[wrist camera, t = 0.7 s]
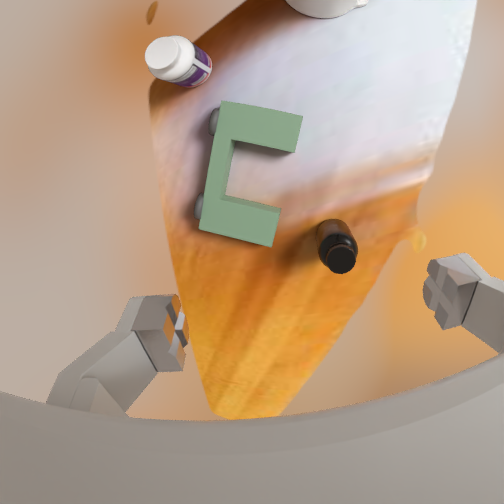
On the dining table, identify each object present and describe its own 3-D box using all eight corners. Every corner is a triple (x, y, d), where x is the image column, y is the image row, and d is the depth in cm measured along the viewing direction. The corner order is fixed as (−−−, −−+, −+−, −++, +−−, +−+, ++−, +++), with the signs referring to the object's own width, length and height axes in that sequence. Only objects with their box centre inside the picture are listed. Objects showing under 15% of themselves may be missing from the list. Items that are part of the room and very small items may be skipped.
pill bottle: (180, 48, 45) (145, 28, 32) (218, 53, 45) (192, 30, 32) (169, 85, 49) (131, 74, 36) (207, 91, 48) (177, 79, 35)
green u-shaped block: (221, 102, 49) (213, 99, 44) (302, 117, 48) (302, 115, 43) (199, 221, 59) (191, 229, 54) (273, 239, 58) (270, 249, 53)
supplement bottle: (313, 249, 57) (315, 276, 46) (318, 215, 54) (323, 236, 43) (346, 253, 56) (356, 282, 45) (353, 220, 54) (366, 242, 43)
